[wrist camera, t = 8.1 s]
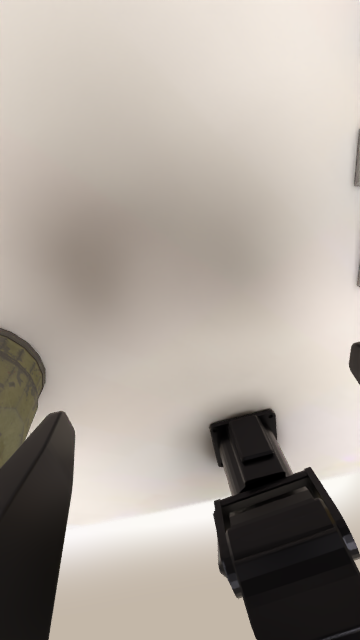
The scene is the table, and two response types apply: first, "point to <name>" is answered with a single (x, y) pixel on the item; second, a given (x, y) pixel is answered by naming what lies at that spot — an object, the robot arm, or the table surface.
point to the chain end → (358, 183)
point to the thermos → (17, 391)
